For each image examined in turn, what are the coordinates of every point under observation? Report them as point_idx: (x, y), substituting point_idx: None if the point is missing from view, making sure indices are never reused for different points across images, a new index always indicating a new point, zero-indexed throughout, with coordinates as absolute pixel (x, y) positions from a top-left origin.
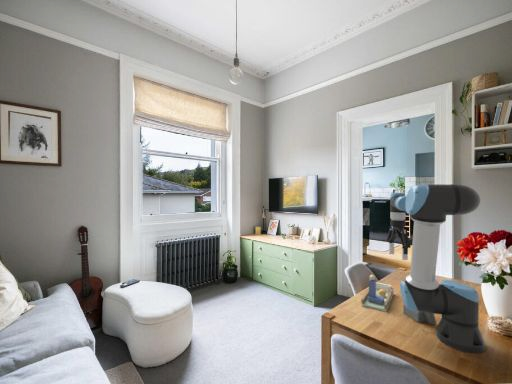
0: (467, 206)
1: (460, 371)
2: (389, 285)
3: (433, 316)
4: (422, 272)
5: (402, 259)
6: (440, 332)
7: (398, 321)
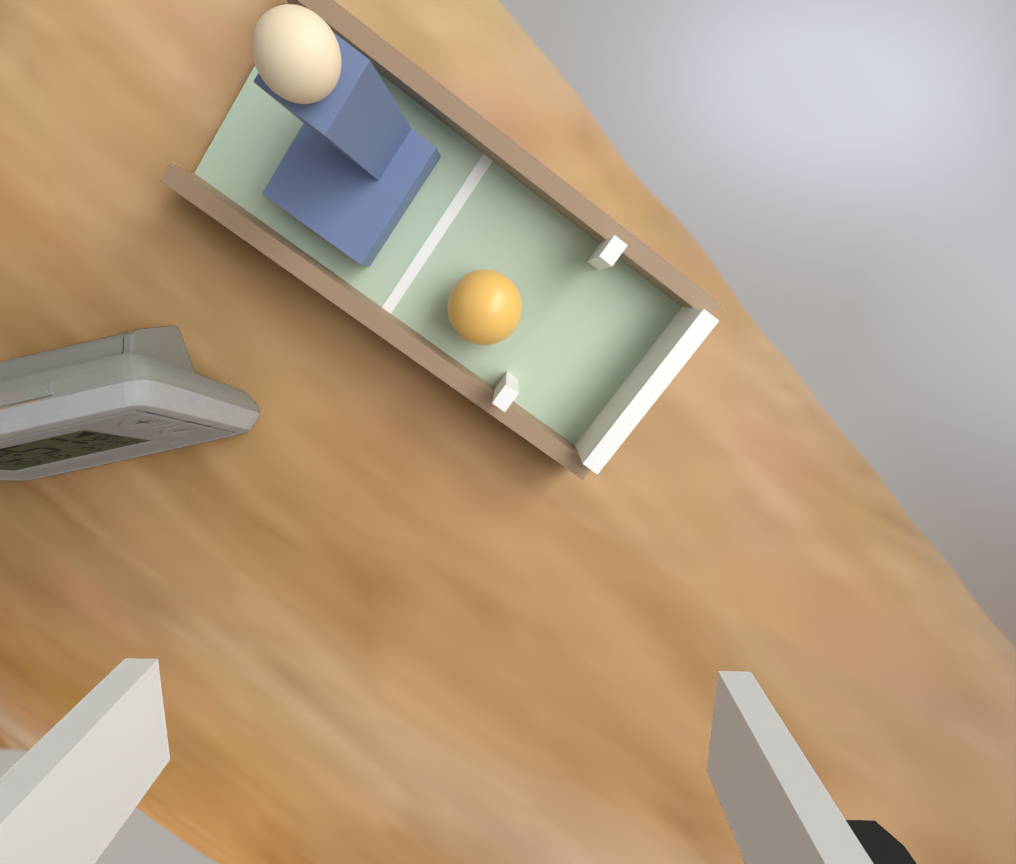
0: None
1: None
2: (593, 449)
3: None
4: None
5: (131, 665)
6: None
7: (30, 203)
